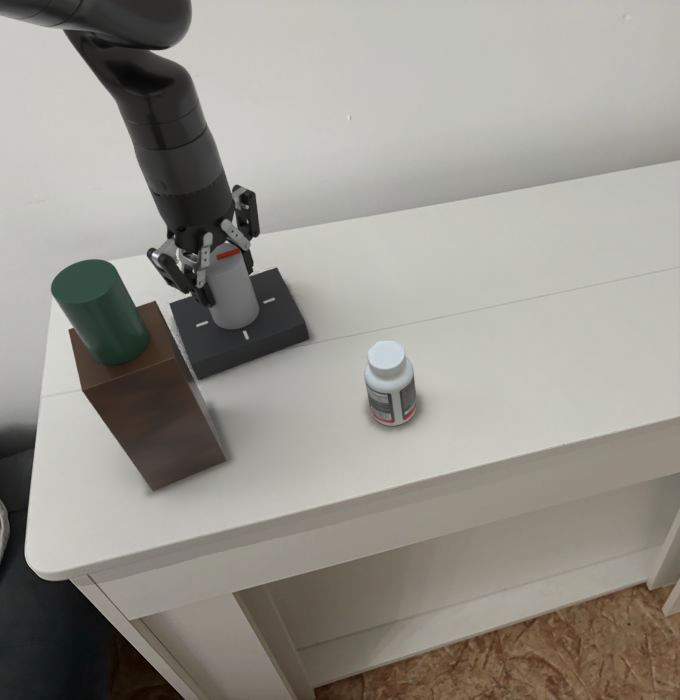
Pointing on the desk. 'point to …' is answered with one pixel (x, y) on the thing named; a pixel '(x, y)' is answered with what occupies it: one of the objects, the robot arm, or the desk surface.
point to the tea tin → (101, 311)
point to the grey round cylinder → (230, 288)
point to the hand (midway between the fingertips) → (226, 287)
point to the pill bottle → (390, 383)
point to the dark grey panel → (244, 343)
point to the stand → (152, 406)
